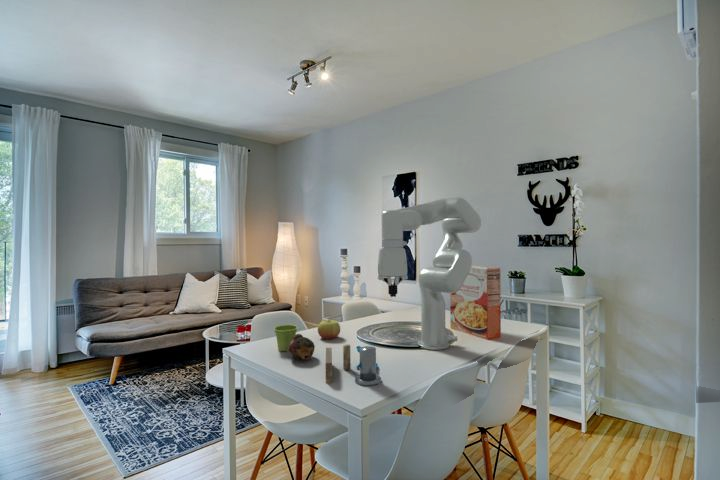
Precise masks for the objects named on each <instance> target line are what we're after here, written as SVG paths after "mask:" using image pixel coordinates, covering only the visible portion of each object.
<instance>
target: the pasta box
mask: <svg viewBox="0 0 720 480" xmlns="http://www.w3.org/2000/svg"><path fill="white" fill-rule="evenodd" d="M449 296H450V298H449V300H450V303H449V304H450V305H449V306H450V307H449V308H450V312H449V313H450V314H449V315H450V317H449V318H450V320H449V321H450V329H452V330H455V331H458V332H461V333H463V334H468V335H469V336H470V335H471V336H474V337H477V338H480V339H483V340H486V341H489V340H493V339H499V338H501V335H502V334H501V333H502V330H501V329H502V327H501V326H502V325H501V317H502V316H501V314H502V313H501V310H502V309H501V302H502V301H501V268H499V267H493V266H492V267H490V266H478V265H472V266H471V269H470V271H469V273H468V275H467V277H466V279H465V281H464V283H463V285H462V286H461V288H460V289H459V291H457V292H456V293H449Z"/></svg>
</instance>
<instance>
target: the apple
mask: <svg viewBox="0 0 720 480" xmlns="http://www.w3.org/2000/svg"><path fill="white" fill-rule="evenodd" d="M340 333H341V326H340V323H339V321H336V320H332V319H327V320H322V321H321V322H320V323H319V324H318V326H317V334H318V335H319V336H320V338H321V339H324V340H333V339H334V340H335V339H336V338H338V336H339V335H340Z"/></svg>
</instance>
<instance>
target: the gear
mask: <svg viewBox="0 0 720 480" xmlns="http://www.w3.org/2000/svg"><path fill="white" fill-rule="evenodd" d="M361 347H362V346H361V345H357V346H356V351H357V352H358V353H359V354H360V348H361ZM379 367H380V366H379V364H378V362H376V370H378V369H379ZM356 368H357V370H360V362H358V364H357V365H356Z"/></svg>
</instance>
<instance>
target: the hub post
mask: <svg viewBox="0 0 720 480" xmlns="http://www.w3.org/2000/svg"><path fill="white" fill-rule="evenodd" d="M360 347H361V348H360V353H359V363H360V368H359V374H358V375H356V376H355V377H354V381H355V383H356V385H359V386H363V387H371V386H372V387H373V385H374V386H377V385H379V384H380V383H381V381H382V377H381V376H380V375H378V374H377V369H376V363H377V348H376V347H374V346H370V345H369V346H368V345H366V346H360Z"/></svg>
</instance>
